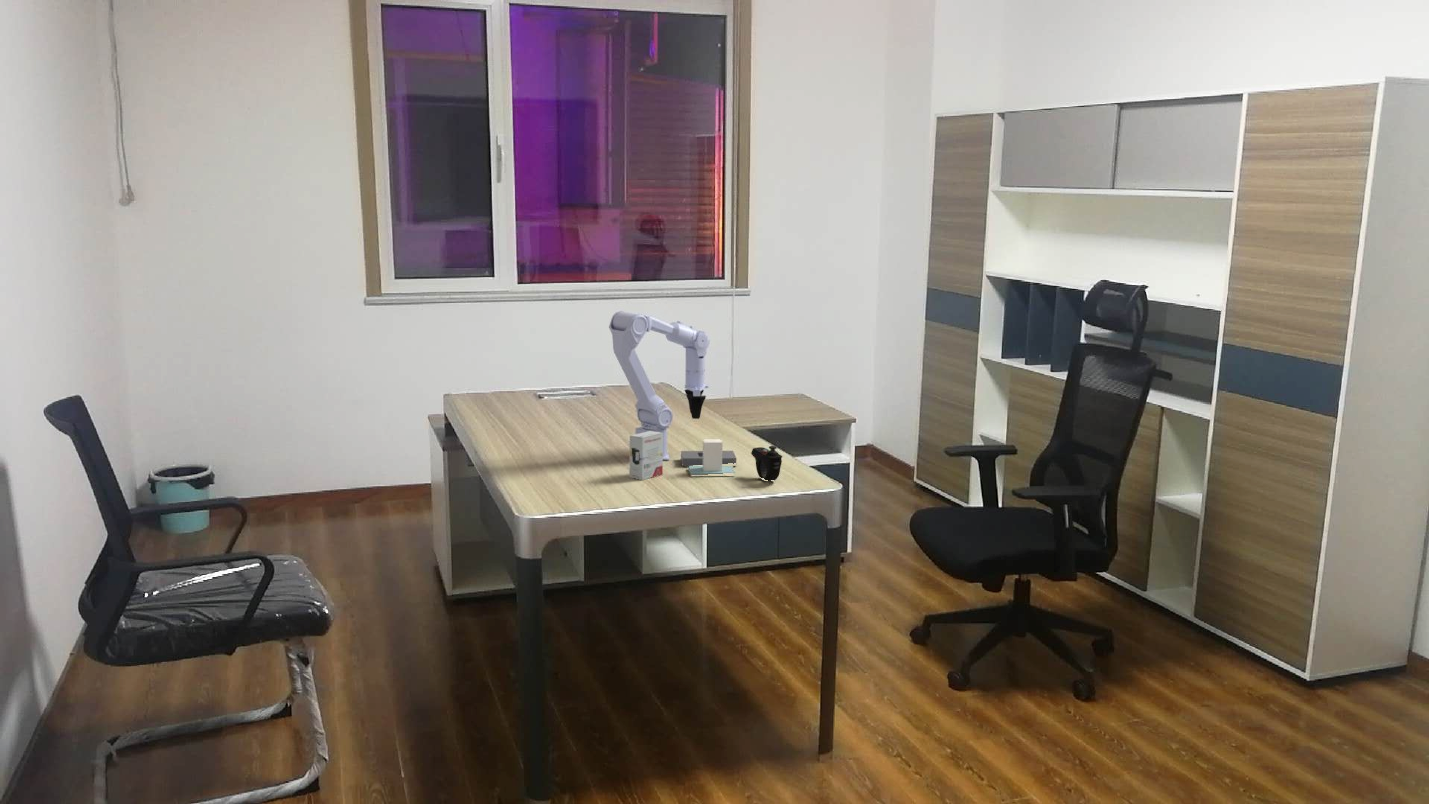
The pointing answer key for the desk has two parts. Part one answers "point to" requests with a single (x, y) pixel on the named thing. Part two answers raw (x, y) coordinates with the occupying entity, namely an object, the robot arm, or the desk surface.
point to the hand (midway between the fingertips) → (694, 415)
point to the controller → (767, 462)
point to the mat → (699, 471)
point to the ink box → (646, 455)
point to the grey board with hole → (697, 457)
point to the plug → (712, 454)
